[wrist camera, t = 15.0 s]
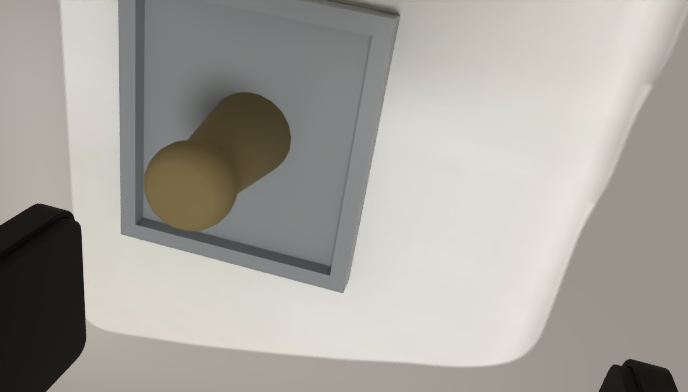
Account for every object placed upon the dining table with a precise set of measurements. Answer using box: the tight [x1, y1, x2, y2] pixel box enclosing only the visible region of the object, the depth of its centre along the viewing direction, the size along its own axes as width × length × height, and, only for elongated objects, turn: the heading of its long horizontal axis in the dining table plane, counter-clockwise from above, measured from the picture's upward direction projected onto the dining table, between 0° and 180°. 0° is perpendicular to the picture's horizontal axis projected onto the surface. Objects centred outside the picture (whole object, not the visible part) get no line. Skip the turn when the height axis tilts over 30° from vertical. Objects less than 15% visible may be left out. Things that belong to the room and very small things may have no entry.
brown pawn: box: [144, 92, 291, 231], centre depth 37 cm, size 6×6×11 cm
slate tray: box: [118, 0, 400, 293], centre depth 42 cm, size 20×18×2 cm
